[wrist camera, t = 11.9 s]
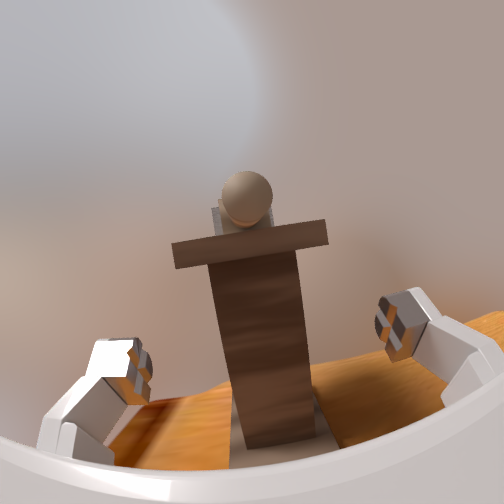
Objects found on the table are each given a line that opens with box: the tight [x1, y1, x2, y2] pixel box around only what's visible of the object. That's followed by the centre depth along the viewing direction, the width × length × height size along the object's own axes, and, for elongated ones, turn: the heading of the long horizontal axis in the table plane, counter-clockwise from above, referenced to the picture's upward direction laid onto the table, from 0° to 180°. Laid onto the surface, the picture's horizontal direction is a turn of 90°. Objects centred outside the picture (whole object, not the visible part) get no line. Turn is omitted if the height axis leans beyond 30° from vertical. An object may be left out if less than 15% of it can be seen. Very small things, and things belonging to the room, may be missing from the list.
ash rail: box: [218, 171, 273, 235], centre depth 27 cm, size 26×4×3 cm, turn 2°
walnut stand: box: [172, 219, 340, 469], centre depth 32 cm, size 20×12×26 cm, turn 2°
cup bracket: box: [212, 206, 274, 236], centre depth 39 cm, size 5×8×4 cm, turn 92°
